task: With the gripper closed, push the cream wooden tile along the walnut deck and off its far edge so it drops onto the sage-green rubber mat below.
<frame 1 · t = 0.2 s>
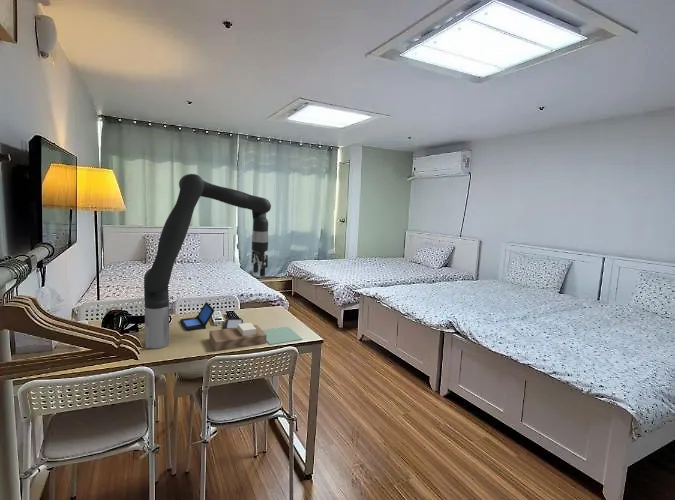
hand: (258, 274, 175), 28 cm above the table, tool pointing down, fingers open, 8 cm apart
handheld game console: (196, 325, 184), on the table
tile: (246, 329, 167), point 5 cm above the table, touching deck
gaming console: (233, 328, 183), on the table
deck: (237, 341, 165), on the table
mat: (279, 335, 175), on the table
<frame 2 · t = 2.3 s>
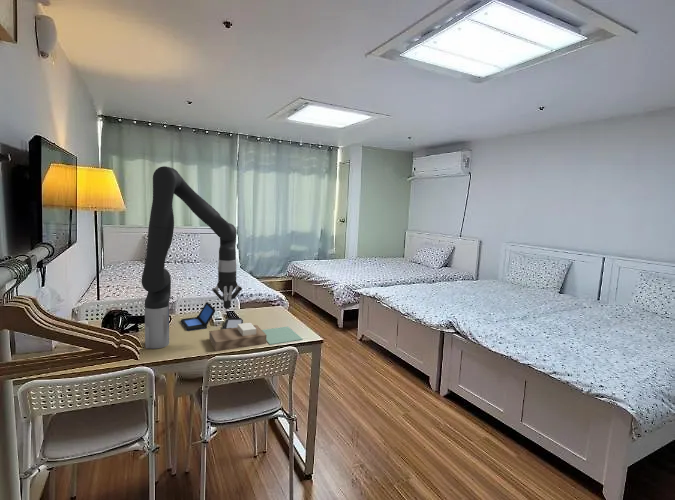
hand: (227, 308, 161), 16 cm above the table, tool pointing down, fingers closed
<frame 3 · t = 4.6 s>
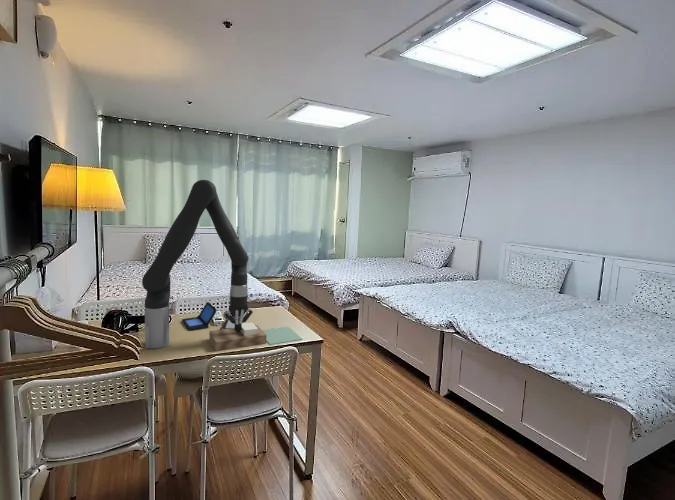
hand: (238, 331, 165), 5 cm above the table, tool pointing down, fingers closed
tile: (248, 328, 167), point 5 cm above the table, touching gripper
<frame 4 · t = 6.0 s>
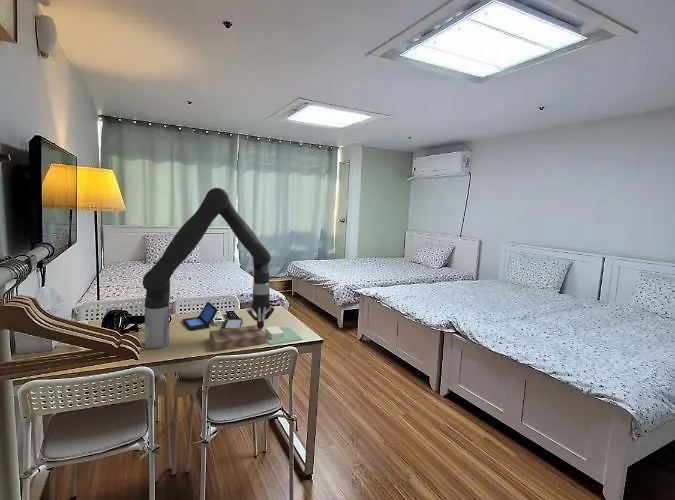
hand: (260, 328, 170), 5 cm above the table, tool pointing down, fingers closed
tile: (274, 332, 174), point 2 cm above the table, tilted 180°, touching mat
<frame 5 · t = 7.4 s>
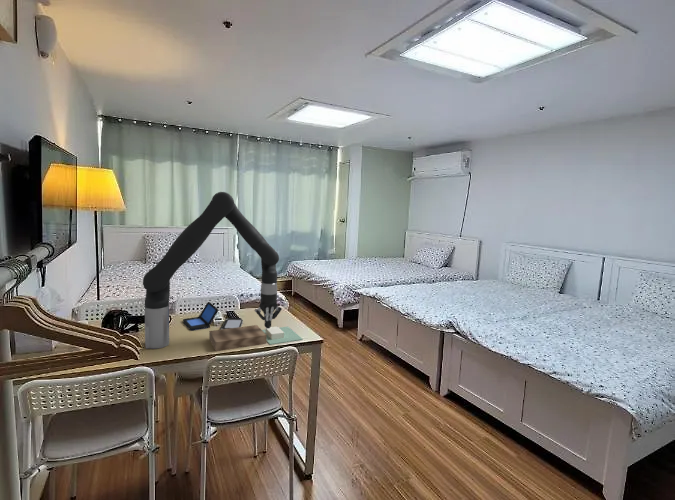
hand: (267, 327, 172), 5 cm above the table, tool pointing down, fingers closed
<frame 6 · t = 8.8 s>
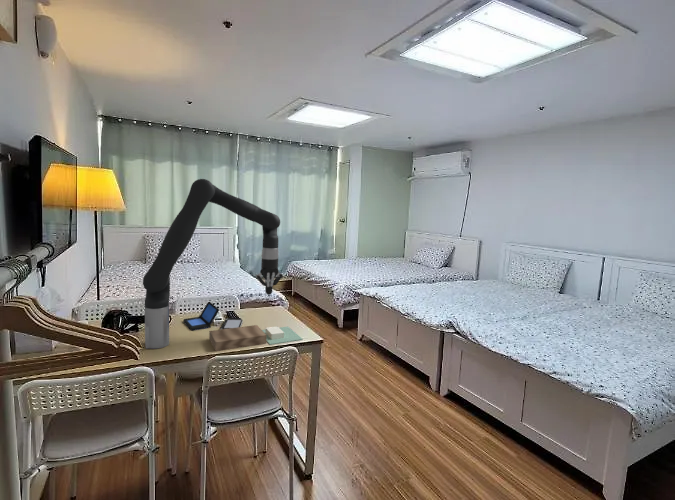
hand: (268, 294, 170), 21 cm above the table, tool pointing down, fingers closed
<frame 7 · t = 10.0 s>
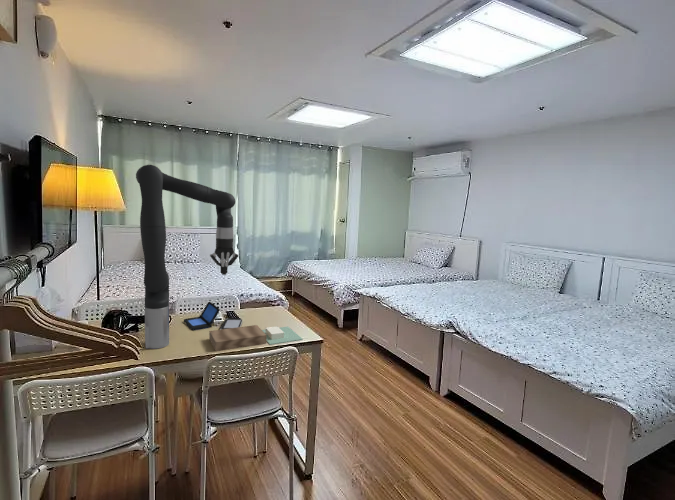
hand: (223, 274, 169), 29 cm above the table, tool pointing down, fingers closed
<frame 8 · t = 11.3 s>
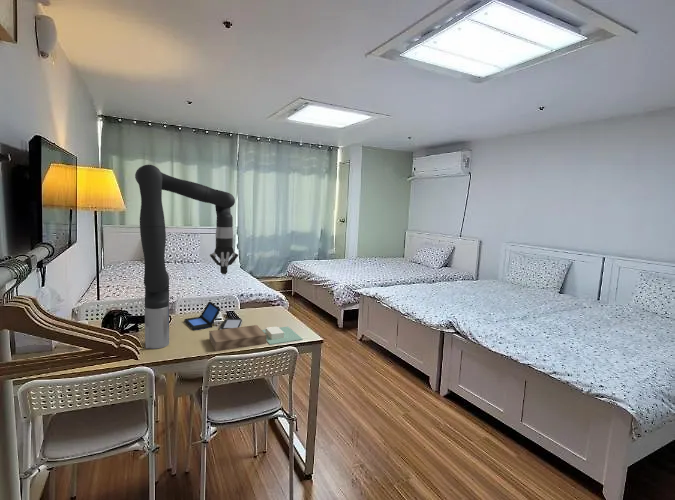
hand: (223, 274, 169), 29 cm above the table, tool pointing down, fingers closed
at the end: tile inside the target area (2.6 cm from its centre), point 1.7 cm above the table; tile touching mat; the gripper is holding nothing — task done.
